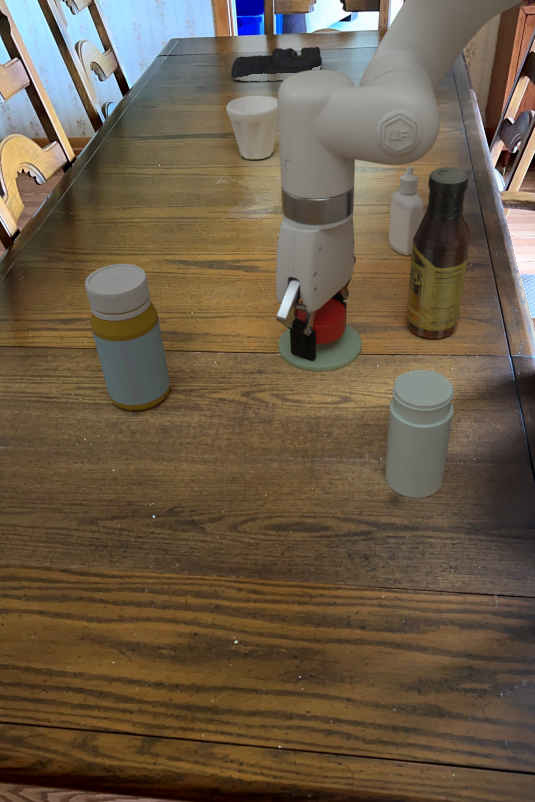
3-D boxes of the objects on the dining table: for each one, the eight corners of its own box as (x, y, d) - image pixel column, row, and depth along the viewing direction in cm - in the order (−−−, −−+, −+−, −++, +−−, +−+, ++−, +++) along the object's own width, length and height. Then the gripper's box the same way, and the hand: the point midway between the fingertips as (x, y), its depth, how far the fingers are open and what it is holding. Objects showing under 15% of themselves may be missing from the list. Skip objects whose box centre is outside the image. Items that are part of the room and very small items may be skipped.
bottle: (173, 408, 79) (151, 291, 70) (109, 418, 79) (79, 301, 69) (169, 371, 85) (148, 257, 75) (110, 379, 84) (81, 266, 74)
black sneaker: (235, 65, 182) (233, 45, 179) (321, 61, 180) (321, 40, 177) (229, 83, 170) (227, 62, 167) (322, 79, 168) (321, 57, 165)
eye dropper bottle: (389, 257, 102) (393, 175, 95) (388, 238, 106) (392, 159, 99) (420, 257, 102) (427, 175, 94) (418, 238, 106) (424, 159, 98)
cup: (242, 169, 130) (238, 117, 124) (222, 151, 137) (217, 101, 131) (292, 157, 133) (290, 106, 127) (270, 141, 140) (267, 91, 134)
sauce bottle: (407, 312, 91) (419, 159, 78) (457, 315, 90) (478, 160, 77) (404, 341, 86) (416, 183, 74) (457, 345, 85) (479, 185, 72)
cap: (355, 323, 85) (355, 305, 84) (327, 350, 82) (327, 332, 80) (310, 308, 88) (310, 291, 87) (281, 333, 85) (280, 316, 83)
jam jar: (452, 469, 70) (466, 379, 63) (428, 506, 66) (440, 415, 59) (400, 449, 72) (408, 360, 65) (374, 483, 69) (379, 394, 62)
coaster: (376, 337, 87) (376, 333, 87) (335, 381, 81) (335, 377, 81) (306, 315, 92) (306, 311, 92) (262, 355, 86) (262, 351, 86)
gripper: (328, 165, 82) (328, 300, 93) (240, 226, 71) (252, 370, 83) (388, 177, 78) (380, 315, 90) (304, 243, 68) (307, 390, 79)
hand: (318, 340), depth 86 cm, fingers closed on cap, 6 cm apart
